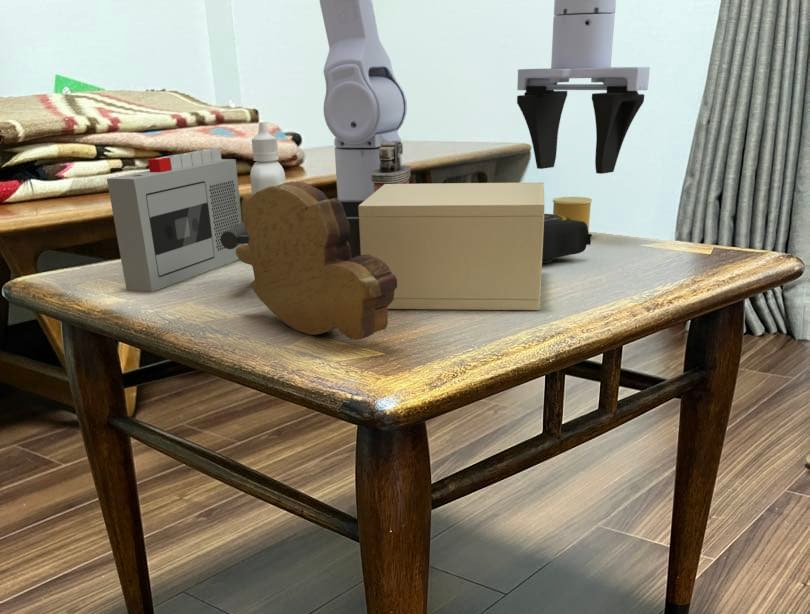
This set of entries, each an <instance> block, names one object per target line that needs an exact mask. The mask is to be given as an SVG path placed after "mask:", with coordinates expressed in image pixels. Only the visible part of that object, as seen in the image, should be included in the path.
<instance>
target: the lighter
mask: <svg viewBox="0 0 810 614" xmlns="http://www.w3.org/2000/svg"><path fill="white" fill-rule="evenodd" d="M403 147H404V146H403V142H402V140H401V141H391V142H381V145H380V148H379V160H380V168H378V169H376V170H374V171H372V173H371V176H372V182H374V193H375V192H376V191H377V190H378V189H379V188H381V187H382V186H383V185H384V184H410V177H411V175H412V174H411V173H412V172H411V167H412V166H411V165H405V164H402V165H400V155H401V156H402V155H403V154H404V152H403V151H404V148H403Z"/></svg>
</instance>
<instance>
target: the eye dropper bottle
mask: <svg viewBox="0 0 810 614" xmlns="http://www.w3.org/2000/svg"><path fill="white" fill-rule="evenodd" d="M257 131H258V132H257V135H256V136H254V137H252V138H251V146H252V157H253V161H254V163H253V165H252V167H251V169H250V172H249V173H250V174H249V177H250V179H249V180H250V187H251V188H250V189H251V194H255V193H256V192H258V191H260V190H262V189H265V188H267V187H271V186H276V185H280V184H283V183H287V179H286V172H285V170H284V168H283V166H282V164H280V162H279V161H278V160H279V158H280V157H279V147H278V138H277V137H276V136H274V135H272V134H271V133H270V131H269V127H268V123H267V121H259V122H258V130H257Z"/></svg>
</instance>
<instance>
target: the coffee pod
mask: <svg viewBox="0 0 810 614" xmlns="http://www.w3.org/2000/svg"><path fill="white" fill-rule="evenodd" d="M552 202H553V205H552V206H553V210H552V214H555V215H561V216H565V217H567V218H569V219H571V220H576V221H583V222H585V223H586V224H587V227H588V231H590V220H591V218H590V217H591V204H592V202H593V199H592V198H590V197H584V196H562V197H560V196H559V197H555V198H553V199H552ZM588 233H589V232H588ZM589 234H590V233H589Z"/></svg>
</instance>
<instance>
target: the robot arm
mask: <svg viewBox="0 0 810 614" xmlns="http://www.w3.org/2000/svg"><path fill="white" fill-rule="evenodd" d="M553 1H554V2H553V3H554V5H553V22H552V39H551V41H552V42H551V60H550V61H551V63H550V68H519V69H517V85H516V86H517V89H516V90H517V91H525V92H524V93H523V94H522V95H521V94H519V95H517V96H516V104H517V105H518V108H519V109H520V111H521V114H522V116H523V118H524V120H525V123H526V125H527V129H528V132H529V135H530V140H531V144H532V148H533V155H534V160H535V164H536V169H538V170H543V169H550V168H551V169H552V168H555V164H556V160H557V159H556V158H557V149H558V139H559V129H560V124H561V118H562V114H563V109H564V107H565V103H566V100H567V97H568V91H606V92H598V93H597V92H595V93H591V102H592V106H593V112H594V119H595V130H596V132H595V133H596V134H595V135H596V138H595V139H596V142H595V159H594V160H595V161H594V165H595V166H594V167H595V174H599V175H601V174H610V173H614V171H615V168H616V165H617V161H618V158H619V154H620V151H621V148H622V147H623V143H624V140H625V137H626V136H627V133H628V131H629V129H630V126H631V124H632V123H633V121H634V118H635V117H636V115H637V114H638V112H639V110H640V109H641V107H642V106H643V104H644V101H645V94H644V93H639V91H648V90H649V80H650V70H651V67H650V66H613V67H612V57H613V56H612V55H613V43H614V29H615V15H616V5H617V0H553ZM318 2H319V6H320V10H321V14H322V19H323V24H324V29H325V34H326V38H327V43H328V48H329V49H328V53H327V56H326V60H325V62H324V63H325V64H324V66H323V75H324V81H325V96H324V101H323V117H324V121H325V124H326V126H327V128H328V130H329V132H330V133H331V134H332V135H333V136H334V137H335V138H334V139H333V141H334V143H333V144H334V160H335V177H336V192H337V193H336V195H337V196H336V197H337V198H338V199H339V200H366V199H367V198H368V197H370V196H371V195H372V194H373V193H374V182H372V176H371V173H372V171H374V170H376V169H378V168H380V160H379V148H380V145H381V142H391V141H401V142H402V138H401V137H400V135H399V132H398V131H399V130H400V129H401V127H402V126H403V124H404V122H405V120H406V116H407V112H408V102H407V97H406V94H405V91H404V89H403V87H402V86H401V85H400V82H398V80H397V79H396V76H395V74H394V71H393V67H392V61H391V58H390V56H389V54H388V53H387V51H386V49H385V47H384V45H383V44H382V42H381V39H380V36H379V31H378V26H377V20H376V15H375V10H374V3H373V0H319V1H318ZM570 79H590V84H589V83H585V84H583V83H580V84H579V83H573V84H572V83H570ZM562 83H563V84H562ZM566 83H567V84H566ZM595 83H596V84H595ZM402 163H403V162H402V155H400V165H403V164H402Z"/></svg>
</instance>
